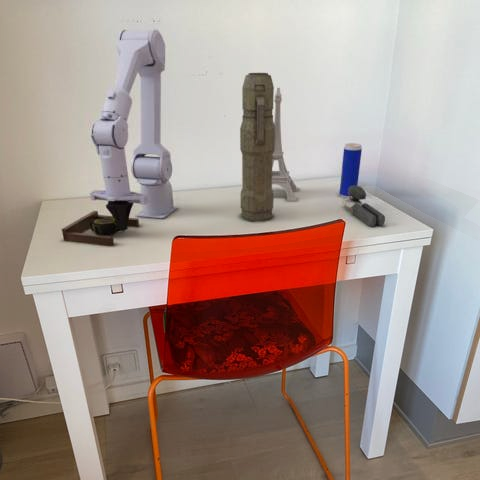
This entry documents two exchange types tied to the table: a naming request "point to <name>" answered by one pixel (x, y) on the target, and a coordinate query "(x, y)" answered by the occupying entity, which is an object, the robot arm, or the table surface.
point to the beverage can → (350, 168)
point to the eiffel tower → (281, 156)
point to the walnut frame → (82, 224)
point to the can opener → (362, 207)
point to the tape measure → (104, 226)
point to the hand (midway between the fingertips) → (123, 230)
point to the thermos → (257, 147)
